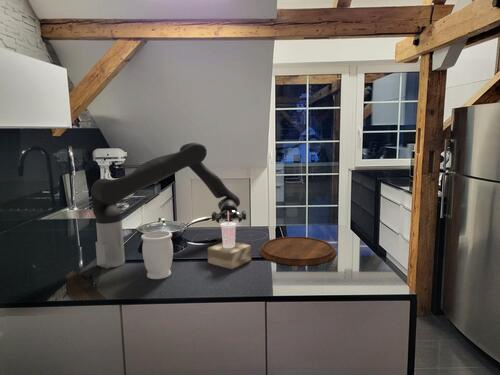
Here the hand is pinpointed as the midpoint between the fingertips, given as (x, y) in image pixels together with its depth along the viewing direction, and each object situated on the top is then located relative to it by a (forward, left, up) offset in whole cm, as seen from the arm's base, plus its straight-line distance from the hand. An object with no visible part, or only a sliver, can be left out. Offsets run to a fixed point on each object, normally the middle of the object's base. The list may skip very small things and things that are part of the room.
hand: (229, 220), depth 149 cm
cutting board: (+20, -20, -16) cm, 33 cm away
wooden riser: (-5, -4, -15) cm, 16 cm away
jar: (-30, +8, -15) cm, 34 cm away
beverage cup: (-4, -3, -9) cm, 11 cm away
